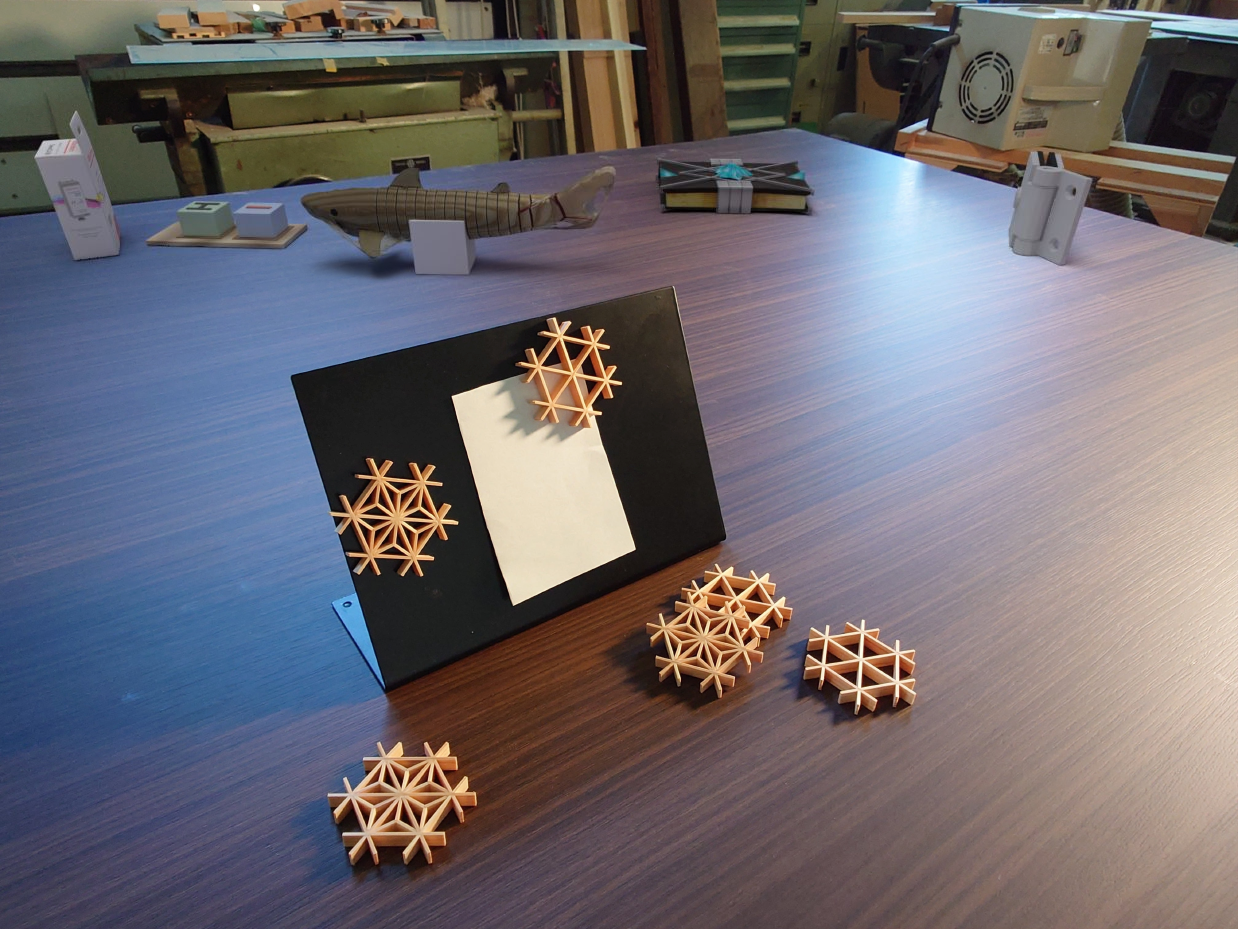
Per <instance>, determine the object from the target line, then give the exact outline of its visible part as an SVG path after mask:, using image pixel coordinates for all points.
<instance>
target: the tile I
mask: <svg viewBox="0 0 1238 929" xmlns="http://www.w3.org/2000/svg"><path fill="white" fill-rule="evenodd" d="M232 215H233V219H234V222H236V226H237V230H238V234H239V237H254V238H276V237H277V236H278V235H279V234H281V233H282V232H283V231H284V230H285V229H287V228H288V227H289V226H288V224H289V222H288V217H287V212H286V208H285V203H284V202H282V203H281V202H247V203H245V205H243V206H241V207H240V208H238V209H237V210H236V211H234V212H232Z"/></svg>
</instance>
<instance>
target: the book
mask: <svg viewBox="0 0 1238 929" xmlns="http://www.w3.org/2000/svg"><path fill="white" fill-rule="evenodd" d="M657 165H658V166H657ZM798 165H799V160H791V161H785V162H780V163H777V162H775V163H774V162H773V163H772V162H743V160H742V159H741V158H709V161H675V160H669V159H665V158H661V157H660V158H659V157H658V158H656V166H657V167H658V170H657V174H655V182H658V187H659V197H660V198H659V199H660V212H661V213H665V212H669V211H673V210H685V211H686V210H688V211H689V210H690V211H691V210H693V211H715V213H716V214H751V211H764V212H765V211H766V212H767V211H771V212H797V213H801V214H806V215H811V214H812V213H811V212H812V208H811V207H809V205H808V202H807V197H808V196H812V197H813V196H814V195H815V191H816V190H815V189H814V188H811V187H810V185H808V183H807V181H806V180H805V177H806V176H805V170H802V171H800V168H799V166H798Z"/></svg>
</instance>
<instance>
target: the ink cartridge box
mask: <svg viewBox="0 0 1238 929" xmlns="http://www.w3.org/2000/svg"><path fill="white" fill-rule="evenodd" d="M70 119H71V120H70V122H69V127H70V129H71V132H72V133H73V136H74V138H67V139H66V138H65V139H52V140H51V139H50V140H43V141H42V142H41V144H40V146H39V148H38V149H37V152H36V154H35V155H34V161H35V163H36V164H37V167H38V171H39V172H40V176H41V177H42V180H43V182H44V185H45V188H46V190H47V193H48V195H49V199H50V200H51V203H52V206H53V208H54V210H55V214H56V216H57V219H58V221H59V224H60V226H61V229H62V231H63V234H64V237H65V239H66V241H67V245H68V246H69V249H70V252H71V254H72V258H73V260H74V261H79V260H80V259H81V260H88V259H89V258H90V259H97V257H98V258H104V257H105V258H106V257H112V256H113V257H114V256H119V255H120V249H121V238H122V236H121V234H122V233H121V229H120V226H119V223H118V221H117V218H116V215H115V212H114V209H113V206H112V203H111V200H110V196H109V194H108V190H107V187H106V185H105V182H104V181H105V180H104V179H103V178H104V177H103V176H102V172H101V170H100V166H99V163H98V161H97V158H96V155H95V151H94V148H93V145H92V143H91V139H90V137H89V135H88V132H87V129H86V128H85V126H84V124H83V121H82V119H81V117H80V114H79V112H78V110H75V111H74V114H73V116H72V118H70ZM78 129H79V130H78ZM79 131H80V133H79ZM90 259H89V260H90ZM81 260H80V261H81Z"/></svg>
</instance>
